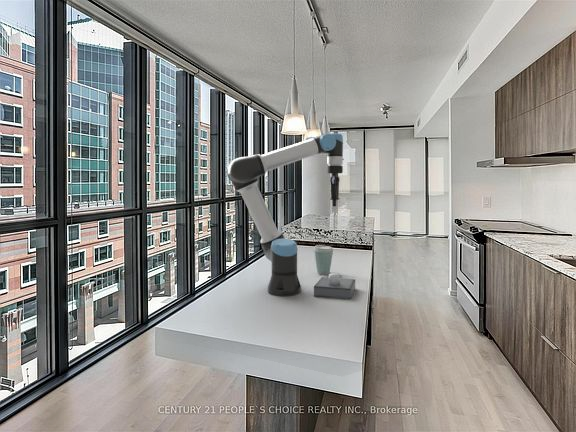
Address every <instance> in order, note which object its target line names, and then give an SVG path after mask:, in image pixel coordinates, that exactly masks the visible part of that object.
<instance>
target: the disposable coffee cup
mask: <svg viewBox="0 0 576 432" xmlns="http://www.w3.org/2000/svg"><path fill="white" fill-rule="evenodd" d="M313 251H314V258H315V259H314V260H315V264H316V265H315V266H316V271H317V274H319V275H329V274H330V272H331V266H332V258H333V254H334V248H333V247H332V246H329V245H320V244H318V245H315V246H314V249H313Z"/></svg>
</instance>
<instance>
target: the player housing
mask: <svg viewBox="0 0 576 432" xmlns="http://www.w3.org/2000/svg"><path fill="white" fill-rule="evenodd" d="M328 277H329V278H322V277H320V279H318V281H317V282H316V283H315V284H314V286H313V297H316V298H317V297H319V298H329V299H330V298H331V299H341V300H342V299H343V300H344V299H345V300H352V297H353V296H354V293H355V291H356V279H355V280H350V279H351V278H345V279H340V278H341V273H336V272H331V273H330V272H329V274H328Z"/></svg>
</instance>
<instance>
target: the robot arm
mask: <svg viewBox="0 0 576 432" xmlns="http://www.w3.org/2000/svg"><path fill="white" fill-rule="evenodd" d="M319 154H327V155H326V156H327V165H328V166H327V171H326V172H327V174H331V176H330V179H329V182H330V199H329V200H331V213H332V214H338V213H339V205H338V204H339V200H340V198H339V195H340V194H339V193H340V180H341V179H340V176H339V174H343V171H344V170H343V169H344V168H343V164H344V163H343V161H344V160H345V159H344V158H343V156H344V155H343V154H344V137H343V134H342V133H335V132H334V133H324V134H322V135H318V136H315V137H312V136H310V137H307V136H306V137H305V138H304V140H303V141H299V142H298V143H294V144H291V145H287V146H285V147H282V148H279V149H275V150H272V151H269V152H266V153H264V154H260V153H257V154H256V153H255V154H253V155H249V156H241V157H237V158H234V159H232V160H231V161H230V162H229V163H228V164H227V168H226V175H227V178H228V179H229V181H231V183H232V186H233V188H234V190H235V191H236V192H238V193H240V195H241V197H242V199H243V201H244V203H245V206H246V207H247V210H248V212H249V215H250V216H251V218H252V221H253V223H254V225H255V227H256V228H257V231H258V234H259V236H260V241H259V242H260V245H261V247H262V250H263V254H264V257H265V258H267V260H269V261H270V262H271V276H270V279H269V282H268V285H267V292H268V294H271V295H273V296H278V297H279V296H280V297H284V296H285V297H287V296H296V295H298V294H301V292H302V285H301V282H300V280H299V277H298V244H297V242H296V241H295V240H293V239H290V238H285V236H284V233H283V231H281V230H278V228H277V226H276V224H275V221H274V219H273V217H272V215H271V213H270V211H269V208H268V206H267V204H266V201H265V199H264V198H263V195H262V193H261V191H260V189H259V186H258V183H259V179H258V178H260V177H263V176H265V175H266V174H267V172H269V171H273V170H275V169H278V168H281V167H284V166H286V165H290V164H293V163H296V162H298V161H302V160H304V159H307V158H310V157H313V156H315V155H316V156H317V155H319Z"/></svg>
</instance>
